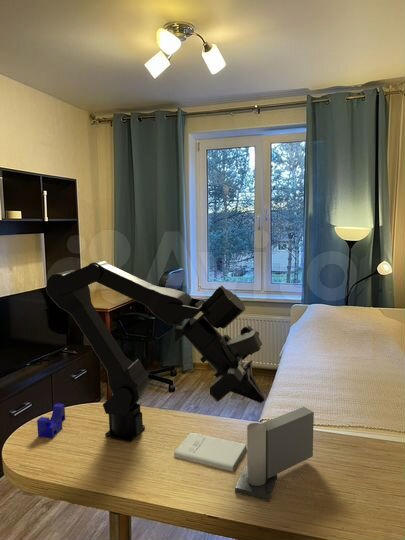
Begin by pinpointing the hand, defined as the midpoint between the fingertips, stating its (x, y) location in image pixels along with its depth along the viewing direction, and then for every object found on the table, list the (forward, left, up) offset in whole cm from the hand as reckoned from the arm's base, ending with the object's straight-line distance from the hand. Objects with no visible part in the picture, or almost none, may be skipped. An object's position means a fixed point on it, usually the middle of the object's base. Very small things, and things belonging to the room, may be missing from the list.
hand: (263, 401), depth 81 cm
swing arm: (+5, -6, -9) cm, 12 cm away
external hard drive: (-10, -4, -11) cm, 15 cm away
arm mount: (+2, -11, -10) cm, 15 cm away
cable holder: (-46, -8, -11) cm, 48 cm away
